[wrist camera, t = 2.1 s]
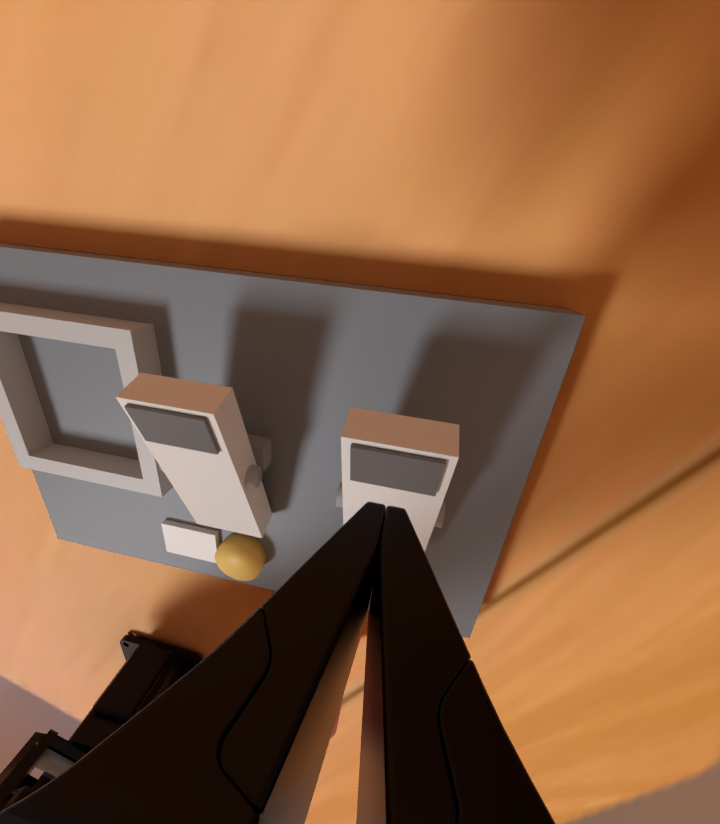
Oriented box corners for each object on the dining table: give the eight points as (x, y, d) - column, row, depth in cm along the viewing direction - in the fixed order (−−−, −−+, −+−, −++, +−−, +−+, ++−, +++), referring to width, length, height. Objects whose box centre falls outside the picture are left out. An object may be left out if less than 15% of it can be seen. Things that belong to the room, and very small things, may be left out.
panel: (466, 610, 19) (471, 662, 17) (80, 521, 22) (37, 554, 20) (569, 308, 12) (602, 323, 10) (-12, 241, 15) (-96, 239, 13)
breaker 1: (278, 515, 17) (267, 542, 16) (204, 500, 17) (189, 525, 16) (241, 388, 11) (220, 419, 10) (132, 370, 11) (103, 398, 10)
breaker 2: (426, 547, 16) (424, 577, 15) (343, 529, 16) (336, 558, 15) (470, 426, 10) (470, 464, 9) (341, 405, 11) (328, 439, 10)
